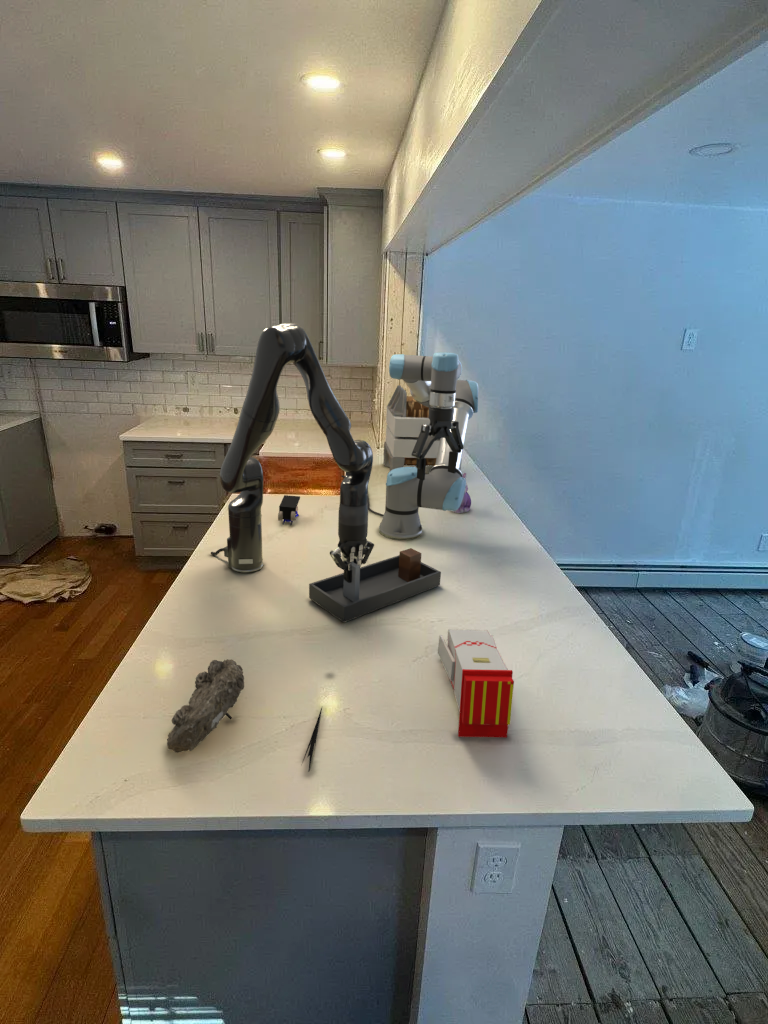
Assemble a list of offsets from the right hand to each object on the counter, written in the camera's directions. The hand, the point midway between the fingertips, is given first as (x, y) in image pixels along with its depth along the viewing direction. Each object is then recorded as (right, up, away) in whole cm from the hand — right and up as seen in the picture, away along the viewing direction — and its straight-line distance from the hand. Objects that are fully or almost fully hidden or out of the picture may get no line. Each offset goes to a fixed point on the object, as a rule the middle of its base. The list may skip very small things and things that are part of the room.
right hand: (436, 475), depth 175 cm
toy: (+2, -49, -57) cm, 75 cm away
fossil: (-49, -50, -67) cm, 97 cm away
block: (-9, -30, -10) cm, 33 cm away
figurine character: (-51, -14, +33) cm, 62 cm away
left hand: (-25, -29, -25) cm, 46 cm away
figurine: (+14, -10, +51) cm, 54 cm away
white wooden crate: (+1, +8, +100) cm, 100 cm away
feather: (-29, -51, -66) cm, 89 cm away
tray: (-18, -33, -18) cm, 42 cm away
